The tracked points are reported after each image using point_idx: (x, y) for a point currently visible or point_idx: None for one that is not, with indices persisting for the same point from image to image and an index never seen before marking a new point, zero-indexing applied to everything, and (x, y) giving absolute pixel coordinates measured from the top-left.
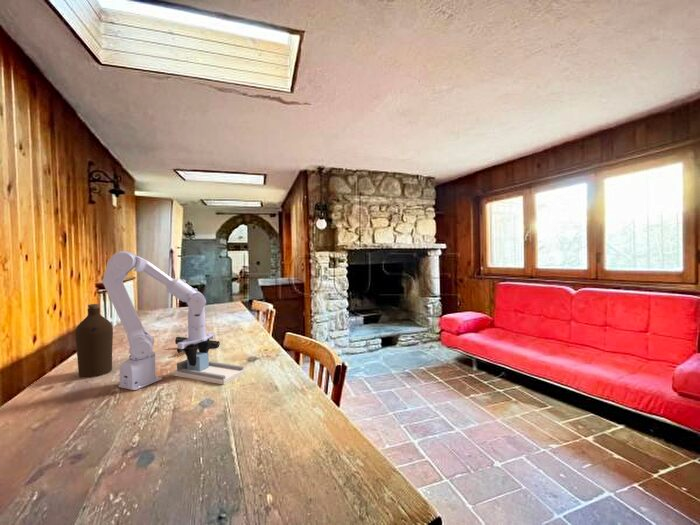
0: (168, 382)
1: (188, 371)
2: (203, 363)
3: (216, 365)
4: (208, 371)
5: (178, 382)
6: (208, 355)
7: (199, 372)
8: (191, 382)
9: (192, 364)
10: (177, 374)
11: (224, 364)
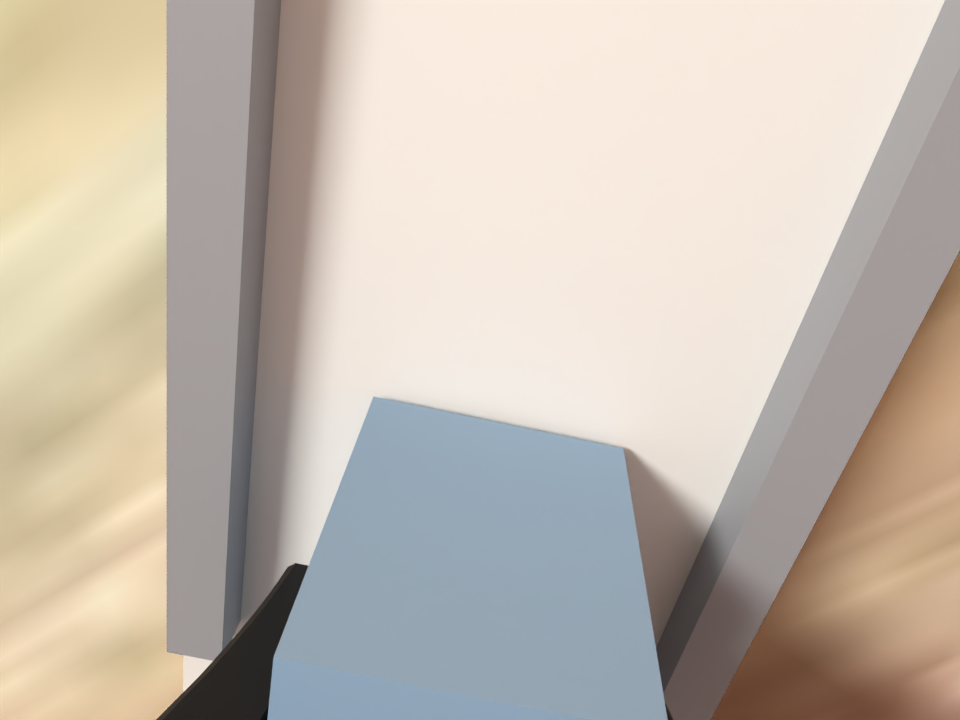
0: (907, 677)
1: (760, 603)
2: (517, 511)
3: (255, 272)
4: (611, 258)
5: (925, 556)
6: (298, 597)
7: (894, 350)
8: (956, 356)
9: None
10: None
11: (225, 9)
